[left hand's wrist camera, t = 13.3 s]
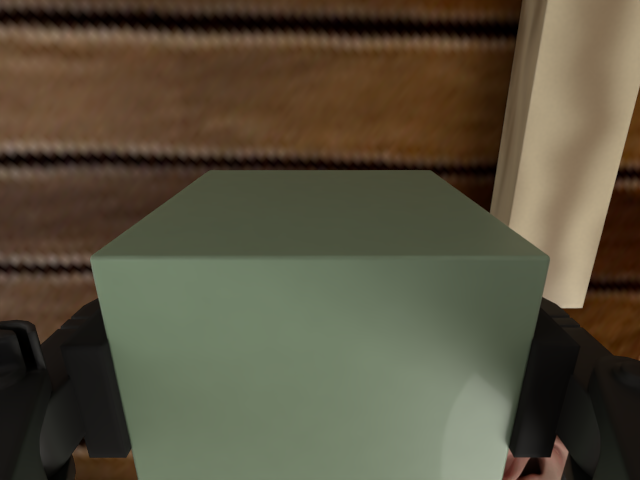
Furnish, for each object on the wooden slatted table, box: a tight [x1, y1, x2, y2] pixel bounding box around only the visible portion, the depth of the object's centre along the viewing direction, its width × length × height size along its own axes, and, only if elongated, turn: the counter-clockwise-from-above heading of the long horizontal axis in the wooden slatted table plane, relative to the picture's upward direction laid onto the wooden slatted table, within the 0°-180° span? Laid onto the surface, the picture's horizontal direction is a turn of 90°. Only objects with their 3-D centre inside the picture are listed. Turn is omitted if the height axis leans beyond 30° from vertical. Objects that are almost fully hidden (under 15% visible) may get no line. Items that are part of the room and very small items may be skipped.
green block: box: [90, 170, 550, 480], centre depth 12 cm, size 8×6×8 cm
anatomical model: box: [502, 436, 568, 480], centre depth 34 cm, size 13×4×12 cm
